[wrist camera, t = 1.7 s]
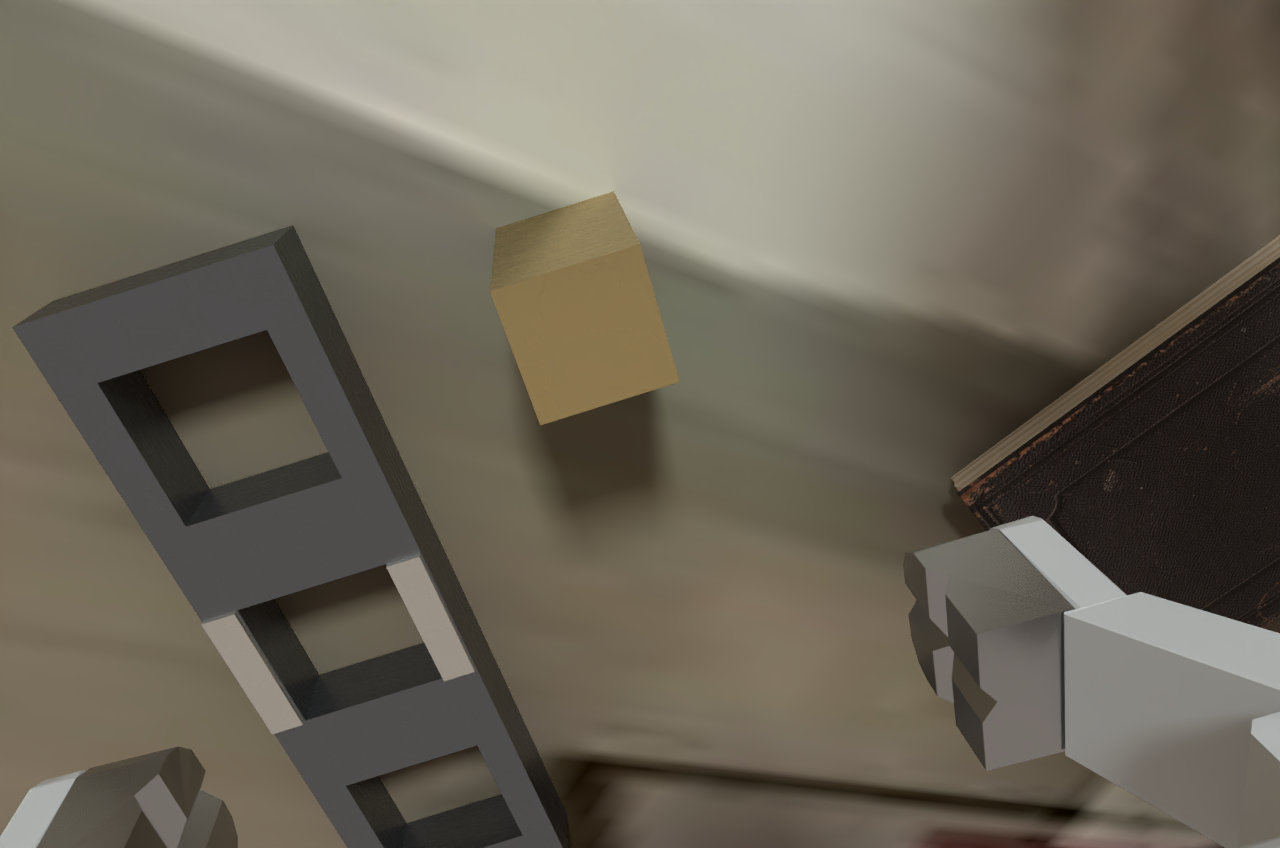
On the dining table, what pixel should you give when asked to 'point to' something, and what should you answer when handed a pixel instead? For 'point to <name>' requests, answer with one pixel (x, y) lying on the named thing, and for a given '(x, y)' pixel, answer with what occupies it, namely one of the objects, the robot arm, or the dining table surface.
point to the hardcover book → (1165, 455)
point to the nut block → (579, 308)
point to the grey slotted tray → (299, 543)
